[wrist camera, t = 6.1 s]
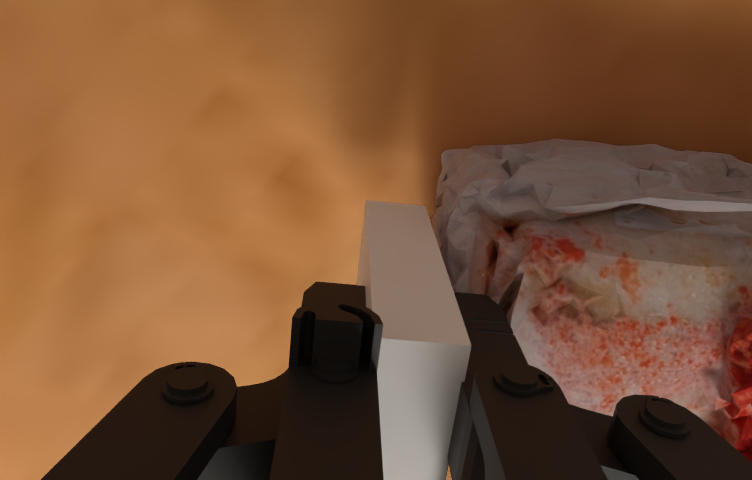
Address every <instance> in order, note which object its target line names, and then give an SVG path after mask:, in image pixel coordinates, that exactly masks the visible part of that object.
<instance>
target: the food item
mask: <svg viewBox="0 0 752 480" xmlns="http://www.w3.org/2000/svg"><path fill="white" fill-rule="evenodd" d="M441 163H442V172H441V174H440V176H439V178H438V183H437V190H436V196H435V203H436V207H437V209H436V212H435V214H434V215H433V216H432V228H433V231H434V234H435V237H436V240H437V243H438V246H439V249H440V252H441V255H442V258H443V261H444V264H445V267H446V270H447V273H448V276H449V279H450V282H451V285H452V288H453V291H454V292H460V293H471V294H482V295H487V296H488V297H490V298H491V299H492V300H493V301H495V302H496V303H497V304H498V305H499V306H501V307H502V309H503V311H504V313H505V315H506V317H507V320H508V324H510V326H511V328H512V330H513V335H515V337H516V339H517V341H518V343H519V345H520V347H521V350H522V352H523V354H524V356H525V358H526V360H527V362H528V365H531V366H533V367H536V368H538V369H540V370H542V371H543V372H545V373H546V374H548V375H549V376H551V377H552V378H553V379H554V380H555V381H556V383H557V384H558V385H559V386H560V388H561V390H562V392H563V394H564V396H565V397H566V399H567V401H568V403H569V404H571V405H574V406H577V407H580V408H583V409H587V410H591V411H594V412H598V413H602V414H605V415H609V416H613V414H614V410H615V407H616V404H617V403H618V402H619V401H620V400H621V399H622V398H623V397H626V396H630V395H634V394H636V395H653V396H658V397H659V398H661V397H662V398H666V399H669V400H671V401H673V402H674V403H676V404H678V405H680V406H683V407H685V408H687V409H688V410H689V411H691V412H692V413H694V414H695V415H697V416H698V417H700V418H701V419H702V420H703V421H704V422H705V423H707V424H708V425H709V426H710V427H711V428H712V429H713V430H715V431H716V432H717V433H718V434H719V435H720V436H722V437H723V438H724V439H725V440H726V441H727V442H728V443H730V444H731V445H732V446H733V447H734V448H735V449H736V450H738V451H739V452H740V453H741V454H742V455H743V456H744V457H746V458H747V459H748V460H749V461H750V462H751V463H752V164H751V163H747V162H744V161H741V160H739V159H737V158H736V157H734V156H733V155H731V154H724V153H714V152H704V151H702V152H699V151H691V150H684V151H681V150H675V149H671V148H668V147H665V146H659V145H657V144H644V145H626V146H617V145H612V144H606V143H600V142H592V141H582V140H568V139H548V140H543V141H537V142H531V143H525V144H506V145H476V146H471V147H470V148H469V149H465V148H463V149H448V150H445V151H444V152H443V153H442V154H441Z"/></svg>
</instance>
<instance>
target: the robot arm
mask: <svg viewBox="0 0 752 480" xmlns="http://www.w3.org/2000/svg"><path fill="white" fill-rule="evenodd" d="M448 465H449V467H450V472H451V477H452V480H752V463H751V462H750V461H749V460H748V459H747V458H746V457H744V456H743V455H742V454H741V453H740V452H739V451H738V450H736V449H735V448H734V447H733V446H732V445H731V444H730V443H728V442H727V441H726V440H725V439H724V438H723V437H722V436H720V435H719V434H718V433H717V432H716V431H715V430H713V429H712V428H711V427H710V426H709V425H708V424H707V423H705V422H704V421H703V420H702V419H701V418H700V417H698V416H697V415H695V414H694V413H692V412H691V411H689V410H688V409H687V408H685V407H683V406H680V405H678V404H676V403H674V402H673V401H671V400H669V399H666V398H662V397H661V398H659V397H658V396H653V395H636V394H634V395H630V396H626V397H623V398H622V399H621V400H620V401H619V402H618V403H617V404H616V407H615V410H614V414H613V416H609V415H605V414H602V413H598V412H594V411H591V410H587V409H583V408H580V407H577V406H574V405H571V404H569V403H568V401H567V399H566V397H565V396H564V394H563V392H562V390H561V388H560V386H559V385H558V384H557V383H556V381H555V380H554V379H553V378H552V377H551V376H549V375H548V374H546V373H545V372H543V371H542V370H540V369H538V368H536V367H533V366H531V365H528V362H527V360H526V358H525V356H524V354H523V352H522V350H521V347H520V345H519V343H518V341H517V339H516V337H515V335H513V330H512V328H511V326H510V324H508V320H507V317H506V315H505V313H504V311H503V309H502V307H501V306H499V305H498V304H497V303H496V302H495V301H493V300H492V299H491V298H490V297H488V296H487V295H482V294H471V293H460V292H454V291H453V288H452V285H451V282H450V279H449V276H448V273H447V270H446V267H445V264H444V261H443V258H442V255H441V252H440V249H439V246H438V243H437V240H436V237H435V234H434V231H433V228H432V225H431V222H430V219H429V216H428V213H427V210H426V207H425V206H420V205H410V204H400V203H390V202H380V201H370V200H366V204H365V213H364V222H363V231H362V240H361V248H360V257H359V266H358V275H357V284H356V285H349V284H337V283H326V282H315V283H314V284H313V285H312V286H311V287H309V288H308V289H307V290H306V291H305V292H304V295H303V301H302V307H300V308H299V309H297V311H296V312H295V314H294V315H293V317H292V330H291V343H290V357H289V368H288V369H287V370H286V371H285V372H284V373H283V374H281V375H280V376H278V377H277V378H275V379H272V380H270V381H267V382H264V383H260V384H255V385H249V386H241V387H237V386H236V383H235V379H234V377H233V376H232V375H231V374H229V373H228V372H227V371H226V370H225V369H223V368H220V367H217V366H215V365H212V364H209V363H199V362H185V363H183V362H182V363H175V364H171V365H168V366H165V367H162V368H159V369H156V370H155V371H153V372H152V373H150V374H149V375H147V376H146V377H144V378H143V379H142V380H141V381H140V382H139V383H138V384H137V385H136V386H135V387H134V388H133V389H132V390H131V391H130V392H129V393H128V394H127V395H126V396H125V397H124V398H123V399H122V400H121V401H120V402H119V403H118V404H117V405H116V406H115V407H114V408H113V409H112V410H111V411H110V412H109V413H108V414H107V415H106V416H105V417H104V418H103V419H102V420H101V421H100V422H99V423H98V424H97V425H96V426H95V427H94V428H93V429H92V430H91V431H90V432H89V433H87V434H86V435H85V436H84V437H83V438H82V439H81V440H80V441H79V442H78V443H77V444H76V445H75V446H74V447H73V448H72V449H71V450H70V451H69V452H68V453H67V454H66V455H65V456H64V457H63V458H62V459H61V460H60V461H59V462H58V463H57V464H56V465H55V466H54V467H53V468H52V469H51V470H50V471H49V472H48V473H47V474H46V475H45V476H44V477H43V478H42V479H41V480H446V475H447V470H448Z"/></svg>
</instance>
